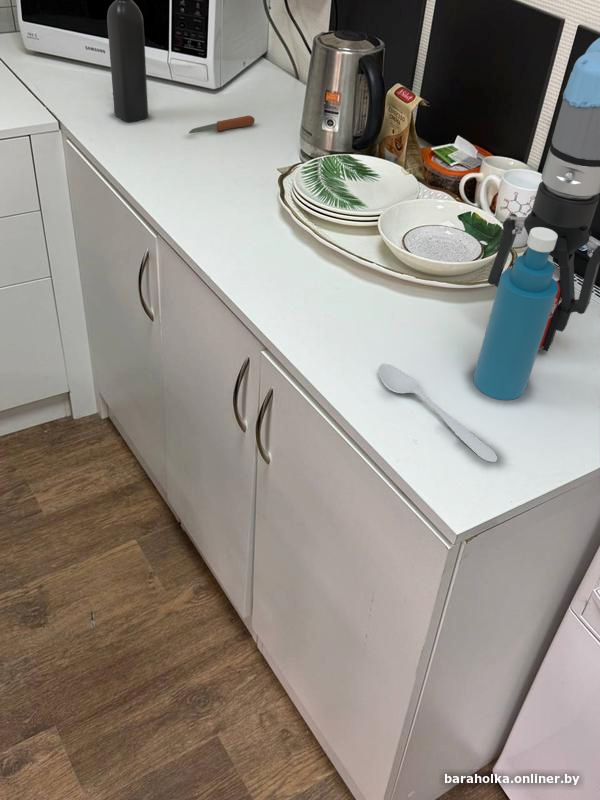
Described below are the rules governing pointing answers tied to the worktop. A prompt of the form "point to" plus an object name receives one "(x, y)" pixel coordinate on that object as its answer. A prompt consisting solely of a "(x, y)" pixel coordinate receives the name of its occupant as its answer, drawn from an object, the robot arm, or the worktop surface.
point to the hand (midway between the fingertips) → (523, 337)
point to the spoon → (406, 384)
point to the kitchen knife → (226, 124)
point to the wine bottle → (127, 60)
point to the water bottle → (518, 320)
